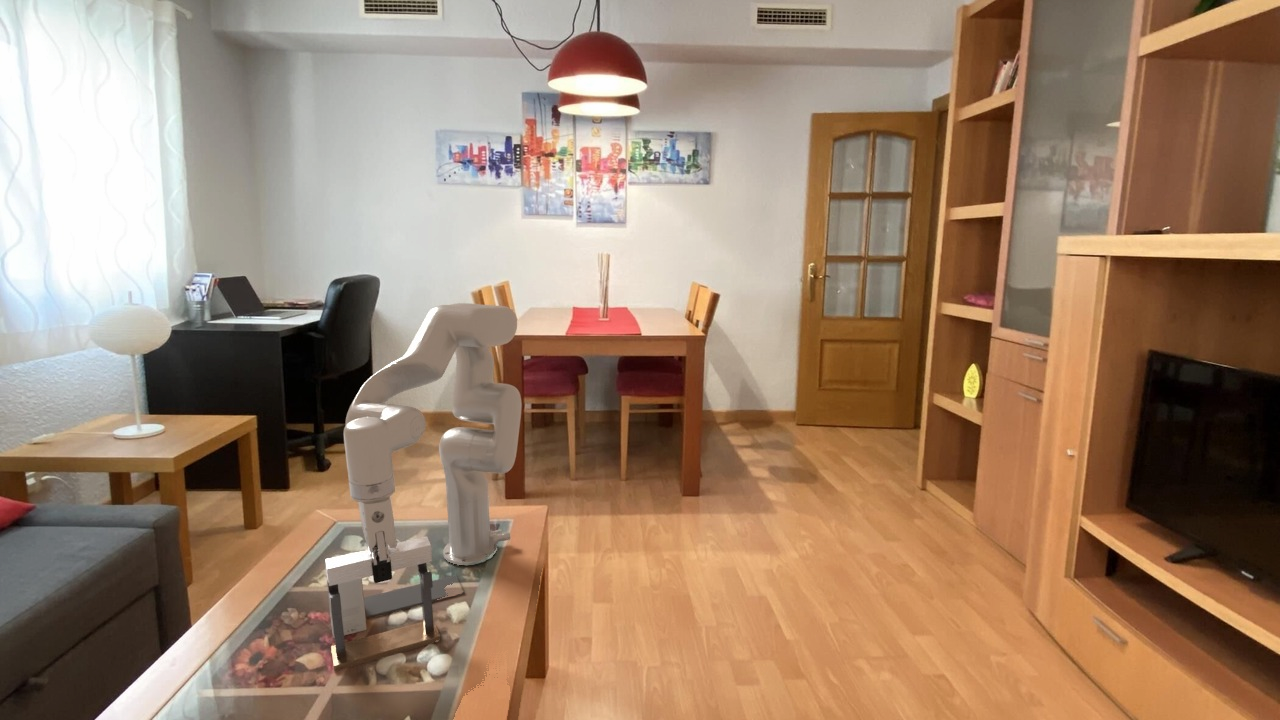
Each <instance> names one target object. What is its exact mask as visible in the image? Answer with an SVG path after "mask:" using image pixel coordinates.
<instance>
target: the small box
mask: <svg viewBox="0 0 1280 720" xmlns="http://www.w3.org/2000/svg"><path fill="white" fill-rule="evenodd" d="M325 564H326V560H325ZM325 574H326V585H327V586H326V587H327V595H328V604H329V615H330V625H331V633H332V638H333V639H334V630H333V621H332V613H331V604H330V596H329V588H328V575H327V568H326V567H325ZM338 590H339V593H340V600H341V609H342V610H341V613H342V622H343V631H344V636H347V635H350V634H355V633H359V632H364V631H366V630H367V619H366V615H365V606H364V598H365V596H364V586H363V578H361V579H357V580H353V581H349V582H344V583H340V584H338Z"/></svg>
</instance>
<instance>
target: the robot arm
mask: <svg viewBox="0 0 1280 720" xmlns="http://www.w3.org/2000/svg"><path fill="white" fill-rule="evenodd" d="M421 322H422V323H421V324H420V326H419V328H418V330H417V331H416V333H415V335H414V337H413V338H412V340H411V342H410V344H409V346H408V348H407V350H406V351H405V353H404V354H403V356H402V357H400V358H399V357H398V359H396V360H394V361H391V362H390V363H389V364H387V365H386V366H384V367H382V369H380V370H378V371H377V372H375V373H374V374H373V375H371V376H370V377H369V378H367V380H366V381H365V382H363V384H362V385H361V387H360V388H359V390H358V392H357V394H356V395H355V397H354V399H353V400H352V402H351V404H350V405H349V408H348V411H347V413H346V417H345V426H344V428H343V443H344V450H345V460H346V469H347V475H348V477H347V478H348V487H349V493H350V496H349V497H350V499H351V500H353V501H354V502H357V503H358V509H359V516H360V517H359V518H360V522H361V528H362V531H363V535H364V541H365V542H366V546H367V550H369V552H371V553H372V555H373V563H372V570H373V576H372V579H373V583H374V584H378V583H382V582H386V581H390V580H392V579H393V571H392V569H391V560H390V558H389V550H388V545H389V547H390V548H395V547H396V546H397V543H398V541H397V535H396V528H395V519H394V512H393V505H392V498H391V497H392V495H393V494H394V493H395V492H396V485H395V476H394V474H395V473H394V466H393V456H392V455H393V453H394V452H397V451H399V450H402V449H405V448H407V447H410V446H412V445H414V444H416V443H417V442H418V441H419V440H420V439H421V438H422V436H423V435H424V433H425V431H426V425H427V421H426V417H425V415H424V414H423V412H422V411H421V409H418V408H416V407H413V406H409V405H402V404H393V403H387V402H388V401H389V400H390V399H392V398H393V397H396V395H398V394H401V393H403V392H406V391H409V390H413V389H417V388H420V387H423V386H426V385H429V384H432V383H434V382H437V381H438V380H439V379H441V378H442V377H443V376H444V374H445V372H446V370H447V368H448V367H449V364H450V361H451V360H452V358H453V356H454V354H455V356H456V357H455V358H456V364H455V365H456V366H455V375H454V383H453V392H452V399H451V400H452V401H451V411H452V415H453V416H454V417H455V418H456V419H458V420H460V421H465V422H471V423H478V424H479V423H480V424H489V425H493V426H494V427H493V428H494V429H483V428H478V427H477V428H476V427H466V426H460V427H453V428H450V429H448V430H446V431H445V432H444V433H443V434H442V436H441V438H440V441H439V444H438V452H439V456H440V461H441V465H442V467H443V471H444V472H443V473H444V478H445V479H444V480H445V490H446V508H447V525H448V538H449V539H448V542H447V544H446V545H445V546H444V548H443V551H442V552H443V554H442V555H443V558H444V560H445V559H446V560H447V561H446V560H445V561H446V562H448V563H449V562H450V563H449V564H451V563H453V564H452V565H454V564H457V565H456V566H459V565H463V564H469V563H473V562H477V561H481V560H483V559H485V558H487V557H489V556H490V555H491V554H492V553H494V551H495V550H496V548H497V549H498V543H499V542H505V541H510V540H511V533H510V531H505V532H503V529H501V528H500V529H496V530H492V529H491V522H490V500H489V499H490V497H489V483H488V482H489V481H488V480H487V476H486V475H485V473H490V474H506V473H508V472H509V471H510V470H511V469H512V468H513V467H514V465H515V461H516V457H517V452H518V443H519V434H520V428H521V427H520V426H521V419H522V405H523V404H522V398H521V393H520V391H519V389H518V388H517V387H516V386H514V385H511V384H509V383H501V382H494V370H495V369H494V367H495V359H494V356H493V354H492V352H491V350H490V348H492V347H497V346H502V345H506V344H509V342H511V341H512V340H513V338H515V335H516V333H517V330H518V320H517V315H516V314H515V312H514V310H513V309H512V308H510V307H508V306H506V305H505V306H504V305H493V304H482V303H466V302H462V303H452V304H441V305H437V306H434V307H432V308H431V309H429V311H428V312H427V314H426V315H425V317H424V319H422V321H421ZM376 552H378V555H377V556H376ZM487 554H489V556H485V555H487ZM463 561H464V562H463Z"/></svg>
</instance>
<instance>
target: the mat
mask: <svg viewBox="0 0 1280 720" xmlns="http://www.w3.org/2000/svg"><path fill="white" fill-rule="evenodd" d="M456 577H458V575H457V574H454V575H451V576H446V577H443V578H439V579H434V580H432V584H433V588H431V595H432V603H434V602H433V601H435V600H437V599H440V598H442V597H445V596H446V595H447V594H448V593H447V594H446V592H445V591H446V590H445V589H444V588H445V587H446V586H447V585H450V584H451V585H452V584H453V583H454V582H456ZM452 582H453V583H452ZM447 596H448V595H447ZM435 602H436V601H435ZM364 606H365V615H366V620H369V619H372V618H373V619H374V618H377V617H379V616H384V615H388V614H391V613H396V612H400V611H404V610H407V609H411V608H415V607H419V606H422V599H421V585H420V583H418V584H415V585H411V586H407V587H402V588H401V587H400V588H397V589H394V590H389V591H387V592H386V591H385V592H382V593H378V594H377V593H376V594H373V595H370V596H366V597H365V596H364Z"/></svg>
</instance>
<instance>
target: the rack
mask: <svg viewBox="0 0 1280 720" xmlns="http://www.w3.org/2000/svg"><path fill="white" fill-rule="evenodd" d="M427 564H428V563H423V564H419V565H416V566H417V574H418V577H419V582H420V583H419V584H420V585H421V599H422V605H421V612H422V621H420V622H416V623H413V624H408V625H405V626H402V627H397V628H393V629H390V630H386V631H383V632H379V633H375V634H371V635H368V636H364V637H361V638H360V637H359V638H357V639H353V640H349V641H346V639H345V635H344V631H343V622H342V613H341V610H342V609H341V600H340V593H339V590H338V584H336V585H332V586H329V582H328V587H327V589H328V588H329V596H330V604H331V613H332V621H333V630H334V638H333V639H334V645H331V646H330V649H331V650H330V651H331V655H332V663H333V665H332V666H333V671H334V672H338V671H341V670H344V669H348V668H352V667H354V666H358V665H361V664H365V663H369V662H372V661H376V660H380V659H383V658H387V657H389V656H394V655H396V654H401V653H404V652H407V651H411V650H414V649H417V648H422V647H425V646H428V644H429V645H431V644H430V643H432V642H435V641H436V640H439V639H440V640H441V636H440V633H439V630H438V627H437V625H436V622H435V619H434V614H433V613H434V612H433V611H434V610H433V602H432V595H431V588H433V584H432V581H433V574H432V571H428V566H427ZM329 596H328V597H329ZM432 644H433V643H432Z"/></svg>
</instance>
